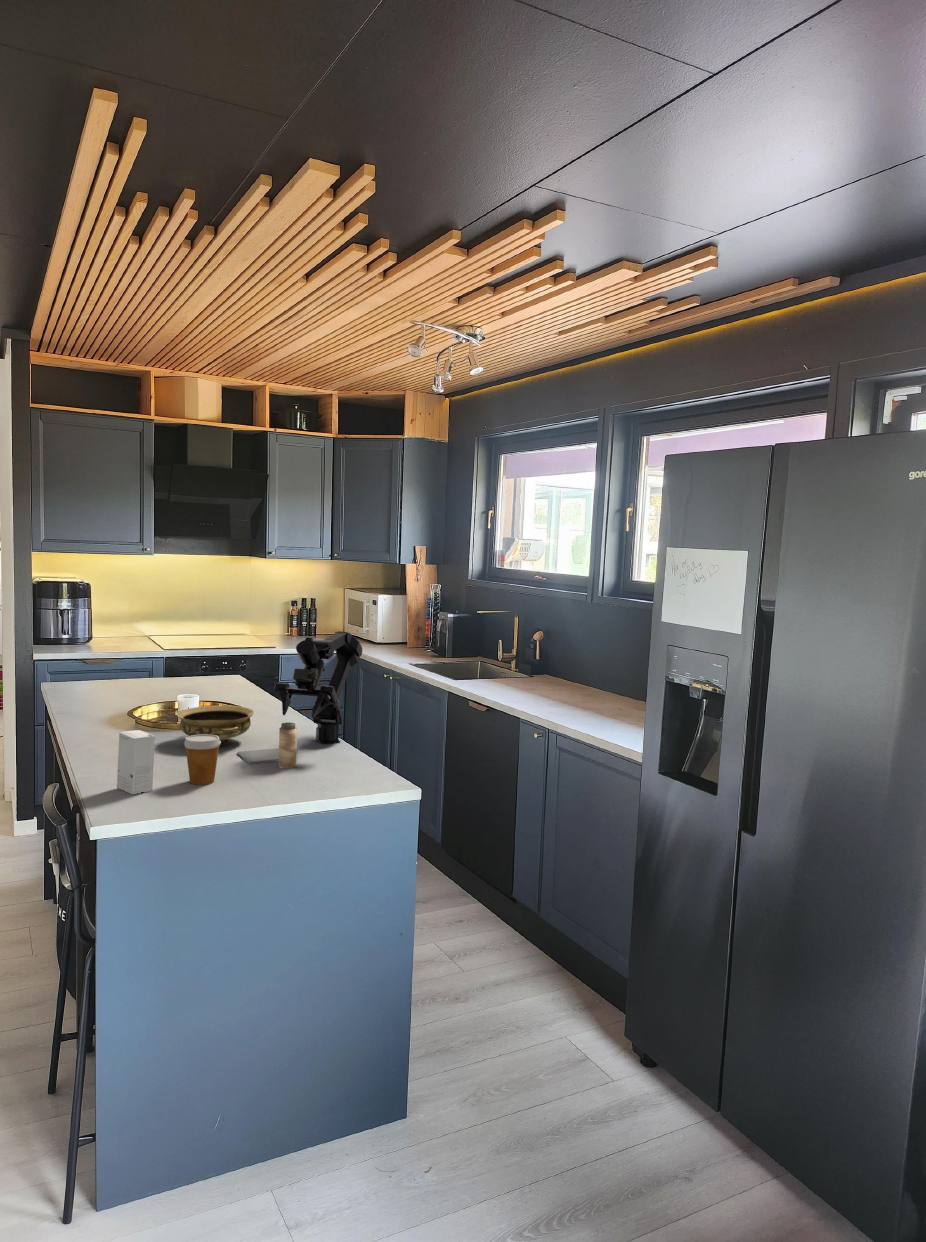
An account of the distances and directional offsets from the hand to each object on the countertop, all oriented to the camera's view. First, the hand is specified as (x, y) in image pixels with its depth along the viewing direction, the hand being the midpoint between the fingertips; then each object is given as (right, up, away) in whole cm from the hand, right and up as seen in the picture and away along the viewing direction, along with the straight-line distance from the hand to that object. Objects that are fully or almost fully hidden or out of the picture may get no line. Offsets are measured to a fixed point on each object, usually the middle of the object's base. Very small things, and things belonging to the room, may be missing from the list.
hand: (298, 715), depth 251 cm
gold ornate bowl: (-30, -11, +18) cm, 37 cm away
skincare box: (-35, -15, -35) cm, 52 cm away
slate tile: (-11, -13, +3) cm, 17 cm away
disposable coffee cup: (-21, -15, -26) cm, 36 cm away
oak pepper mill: (-2, -14, -7) cm, 16 cm away
